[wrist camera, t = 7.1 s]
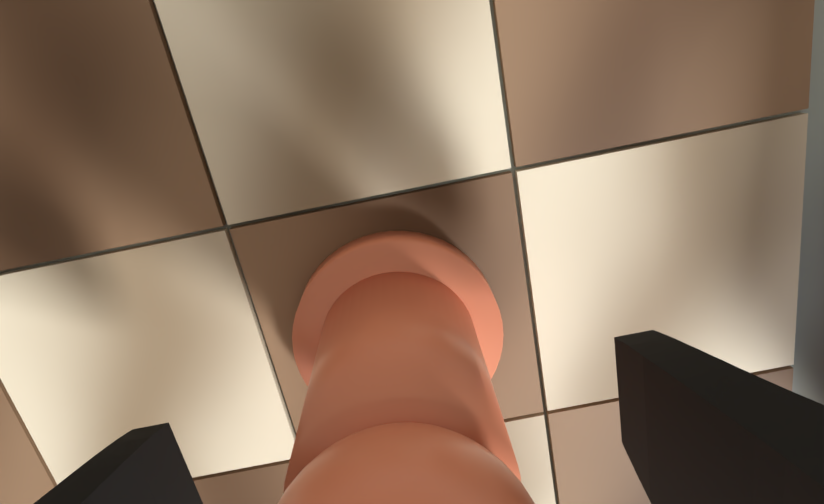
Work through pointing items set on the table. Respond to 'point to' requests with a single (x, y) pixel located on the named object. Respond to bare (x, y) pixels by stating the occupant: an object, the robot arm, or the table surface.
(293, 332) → the pawn
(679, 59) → the board
